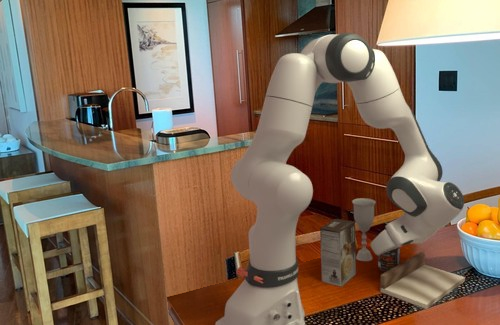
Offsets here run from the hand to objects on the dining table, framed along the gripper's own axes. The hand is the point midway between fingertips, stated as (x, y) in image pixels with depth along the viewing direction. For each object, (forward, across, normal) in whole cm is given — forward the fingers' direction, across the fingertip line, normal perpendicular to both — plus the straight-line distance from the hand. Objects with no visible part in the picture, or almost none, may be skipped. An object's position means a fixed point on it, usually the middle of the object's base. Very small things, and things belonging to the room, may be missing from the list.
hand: (387, 249), depth 140 cm
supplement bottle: (+4, 0, +5) cm, 6 cm away
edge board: (-5, +1, +14) cm, 15 cm away
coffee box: (+8, +15, +1) cm, 17 cm away
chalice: (+11, -1, -2) cm, 11 cm away
